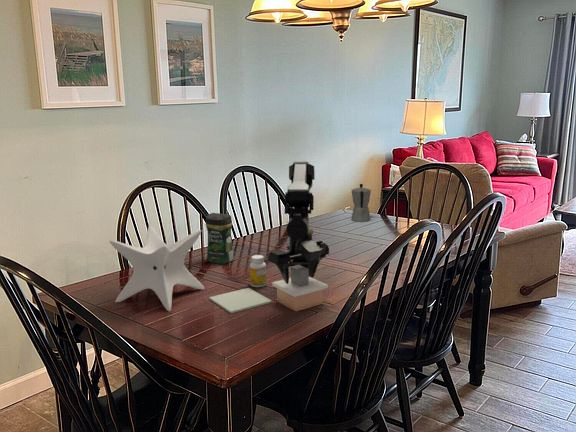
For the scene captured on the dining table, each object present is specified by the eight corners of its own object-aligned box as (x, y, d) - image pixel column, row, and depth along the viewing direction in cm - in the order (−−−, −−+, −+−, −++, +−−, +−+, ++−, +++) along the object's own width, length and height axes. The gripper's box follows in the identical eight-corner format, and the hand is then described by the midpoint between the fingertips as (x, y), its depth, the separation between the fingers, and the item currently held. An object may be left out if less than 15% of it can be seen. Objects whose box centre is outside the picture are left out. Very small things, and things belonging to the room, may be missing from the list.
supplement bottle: (248, 283, 183) (247, 255, 181) (263, 281, 185) (262, 253, 183) (253, 288, 178) (252, 260, 176) (268, 286, 180) (267, 257, 178)
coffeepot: (350, 216, 277) (351, 181, 273) (369, 217, 276) (370, 181, 272) (351, 224, 262) (352, 187, 258) (371, 224, 261) (372, 186, 257)
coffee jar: (204, 262, 207) (201, 214, 202) (215, 256, 214) (213, 210, 209) (225, 265, 202) (223, 216, 198) (236, 259, 209) (234, 212, 205)
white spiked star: (154, 282, 186) (149, 225, 182) (204, 289, 179) (201, 230, 174) (114, 303, 168) (108, 240, 164) (169, 311, 161) (164, 246, 156)
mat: (248, 289, 177) (248, 287, 177) (271, 302, 166) (271, 300, 166) (209, 299, 170) (209, 297, 170) (231, 313, 159) (230, 311, 158)
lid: (304, 277, 173) (304, 259, 172) (327, 288, 163) (327, 268, 162) (272, 285, 166) (271, 266, 165) (294, 296, 157) (294, 277, 155)
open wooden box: (303, 293, 173) (303, 278, 172) (323, 303, 165) (323, 287, 164) (277, 301, 167) (276, 285, 166) (296, 311, 159) (295, 295, 158)
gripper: (288, 241, 149) (289, 294, 153) (341, 230, 160) (340, 281, 163) (266, 232, 158) (267, 284, 162) (317, 223, 169) (318, 271, 172)
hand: (299, 280), depth 164 cm, fingers open, 9 cm apart
